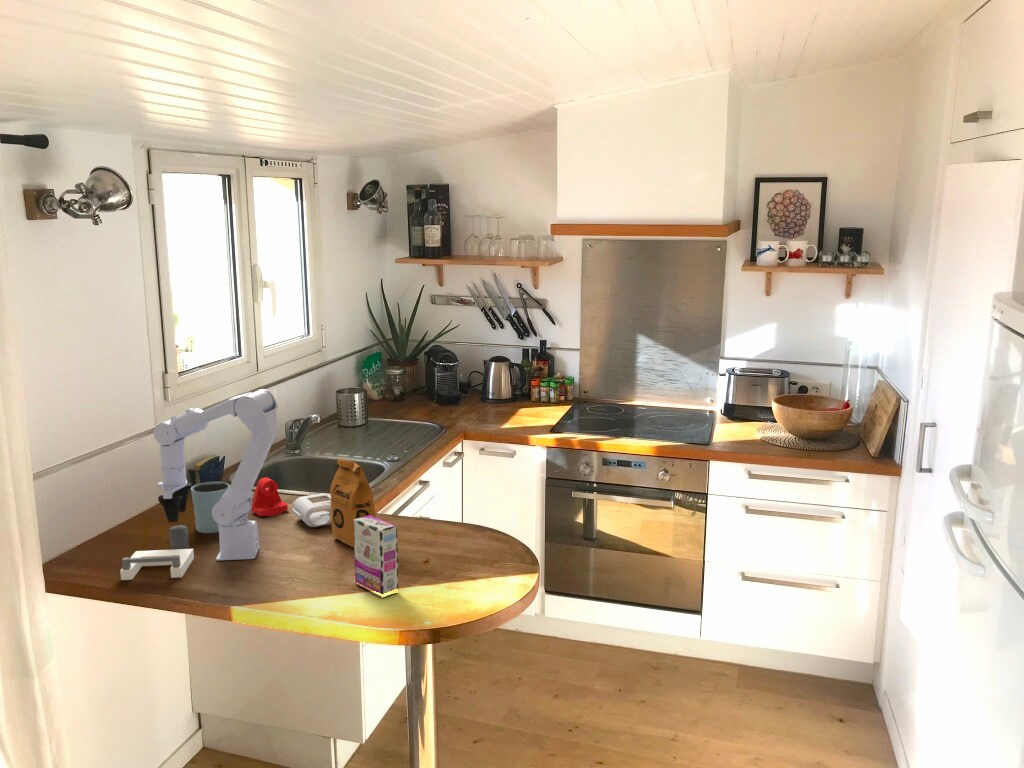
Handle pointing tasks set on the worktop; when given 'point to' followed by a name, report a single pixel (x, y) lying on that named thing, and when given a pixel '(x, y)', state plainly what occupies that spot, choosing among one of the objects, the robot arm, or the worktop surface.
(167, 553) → the white frame with crossbar
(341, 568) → the worktop surface
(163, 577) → the worktop surface
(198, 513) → the pale teal cup
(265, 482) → the bracket
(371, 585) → the candy bar box
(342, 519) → the coffee package
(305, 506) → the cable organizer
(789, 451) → the worktop surface
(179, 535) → the grey rounded cylinder
